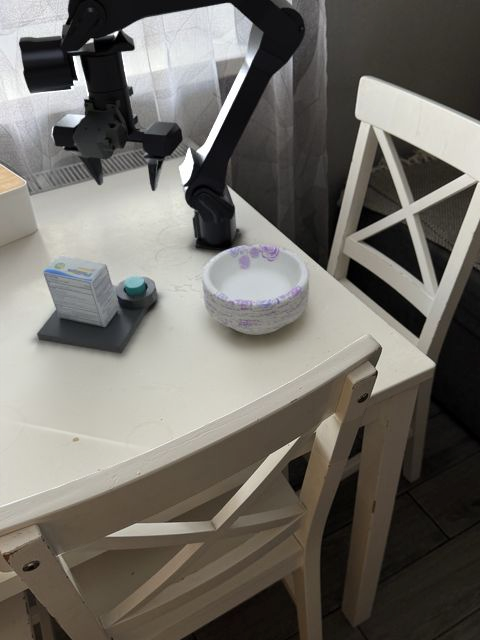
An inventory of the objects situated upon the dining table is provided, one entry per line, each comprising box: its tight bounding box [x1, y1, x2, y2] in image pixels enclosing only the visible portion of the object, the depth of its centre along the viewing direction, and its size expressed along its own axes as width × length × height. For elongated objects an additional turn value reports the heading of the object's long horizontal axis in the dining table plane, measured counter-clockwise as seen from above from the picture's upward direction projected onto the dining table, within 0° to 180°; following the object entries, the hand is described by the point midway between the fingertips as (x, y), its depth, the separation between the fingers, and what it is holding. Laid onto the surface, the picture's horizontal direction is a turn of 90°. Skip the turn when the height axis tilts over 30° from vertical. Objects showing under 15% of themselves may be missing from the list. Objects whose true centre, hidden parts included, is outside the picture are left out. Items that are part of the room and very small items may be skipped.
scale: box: [36, 275, 158, 354], centre depth 89 cm, size 14×14×3 cm
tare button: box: [124, 275, 146, 296], centre depth 90 cm, size 3×3×2 cm
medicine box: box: [42, 254, 119, 327], centre depth 85 cm, size 8×4×9 cm, turn 71°
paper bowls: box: [201, 243, 310, 336], centre depth 86 cm, size 15×15×8 cm
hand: (127, 187), depth 94 cm, fingers open, 9 cm apart
